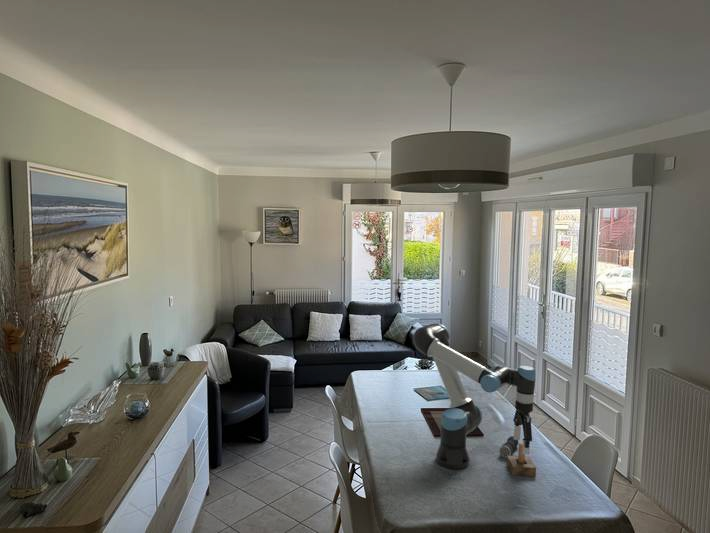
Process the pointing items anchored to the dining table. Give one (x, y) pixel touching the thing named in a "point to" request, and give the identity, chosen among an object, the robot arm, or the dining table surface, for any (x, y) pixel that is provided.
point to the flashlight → (508, 447)
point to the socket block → (521, 466)
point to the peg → (521, 456)
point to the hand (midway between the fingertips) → (521, 446)
